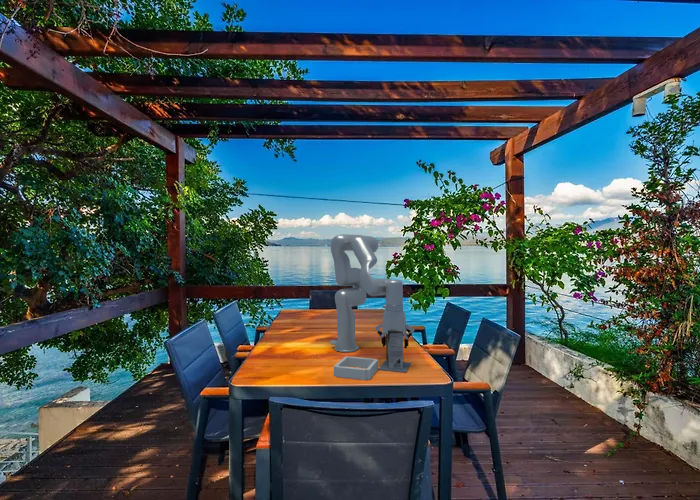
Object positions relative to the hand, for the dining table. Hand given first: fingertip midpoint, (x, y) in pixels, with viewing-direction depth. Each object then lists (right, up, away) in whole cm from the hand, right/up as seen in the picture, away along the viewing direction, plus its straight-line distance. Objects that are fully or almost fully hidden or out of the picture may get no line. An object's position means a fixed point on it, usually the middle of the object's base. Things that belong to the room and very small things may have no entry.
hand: (394, 346), depth 155 cm
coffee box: (0, -9, 0) cm, 9 cm away
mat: (0, -9, 0) cm, 9 cm away
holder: (-17, -9, -7) cm, 20 cm away
